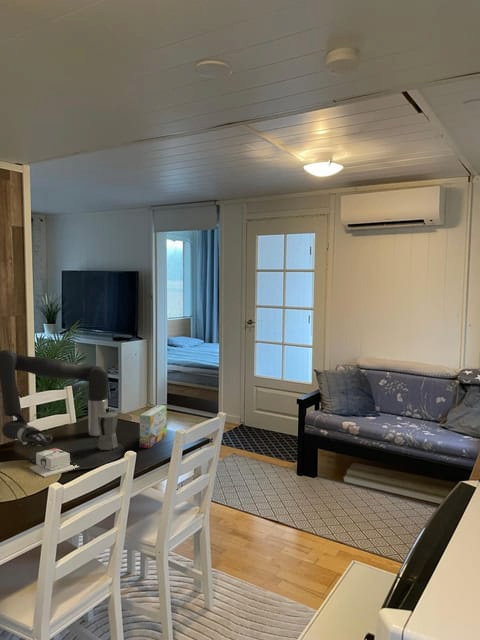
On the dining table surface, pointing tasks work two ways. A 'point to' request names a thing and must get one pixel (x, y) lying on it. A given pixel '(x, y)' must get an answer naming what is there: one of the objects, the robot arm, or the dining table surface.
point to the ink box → (53, 459)
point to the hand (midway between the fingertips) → (46, 444)
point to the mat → (47, 473)
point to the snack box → (153, 426)
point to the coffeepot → (107, 430)
